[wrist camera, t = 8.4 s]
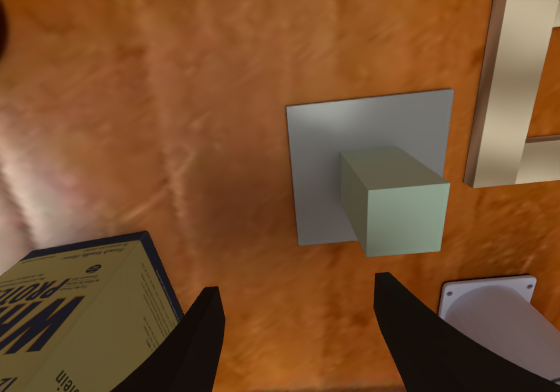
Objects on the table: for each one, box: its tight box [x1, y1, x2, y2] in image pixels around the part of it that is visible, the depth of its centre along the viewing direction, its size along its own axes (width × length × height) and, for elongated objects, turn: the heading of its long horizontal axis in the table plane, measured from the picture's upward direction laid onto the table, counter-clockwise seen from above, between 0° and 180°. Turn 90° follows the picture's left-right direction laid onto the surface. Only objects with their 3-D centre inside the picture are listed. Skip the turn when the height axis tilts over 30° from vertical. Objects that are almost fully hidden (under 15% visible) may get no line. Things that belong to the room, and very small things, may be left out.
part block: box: [340, 146, 450, 257], centre depth 19 cm, size 4×4×7 cm
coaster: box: [286, 88, 454, 246], centre depth 22 cm, size 11×11×1 cm
